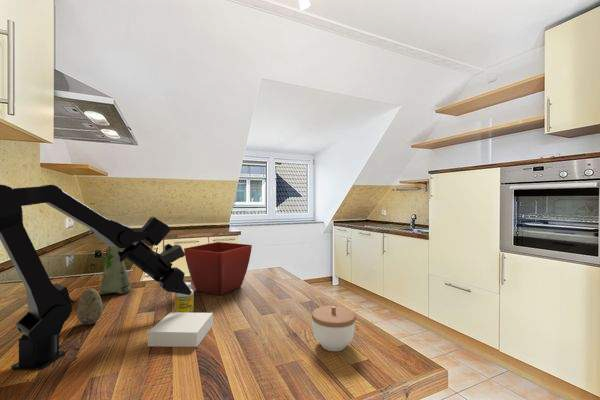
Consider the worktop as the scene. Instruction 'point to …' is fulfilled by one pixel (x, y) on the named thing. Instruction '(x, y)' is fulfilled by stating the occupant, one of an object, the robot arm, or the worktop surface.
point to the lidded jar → (333, 327)
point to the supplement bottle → (184, 301)
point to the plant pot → (218, 266)
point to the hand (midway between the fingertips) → (185, 289)
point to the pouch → (114, 274)
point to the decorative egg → (89, 307)
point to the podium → (180, 329)
